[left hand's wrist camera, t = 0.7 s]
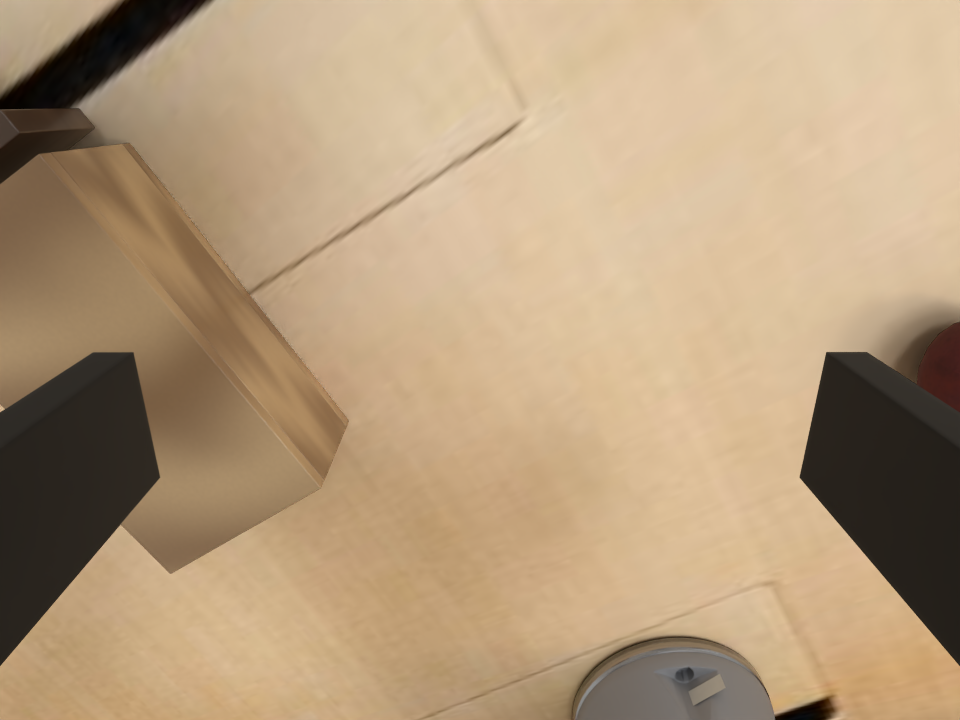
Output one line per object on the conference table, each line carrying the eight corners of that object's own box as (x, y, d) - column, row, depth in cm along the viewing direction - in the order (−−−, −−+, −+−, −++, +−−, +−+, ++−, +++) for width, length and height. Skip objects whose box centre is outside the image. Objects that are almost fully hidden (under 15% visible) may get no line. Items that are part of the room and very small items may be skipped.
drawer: (-125, 119, 34) (-245, 122, 29) (1, 10, 32) (-101, -10, 27) (187, 459, 42) (141, 515, 36) (304, 388, 40) (275, 435, 34)
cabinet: (-7, 246, 38) (-125, 281, 30) (129, 142, 36) (38, 153, 28) (221, 495, 44) (170, 574, 37) (349, 420, 42) (321, 488, 35)
